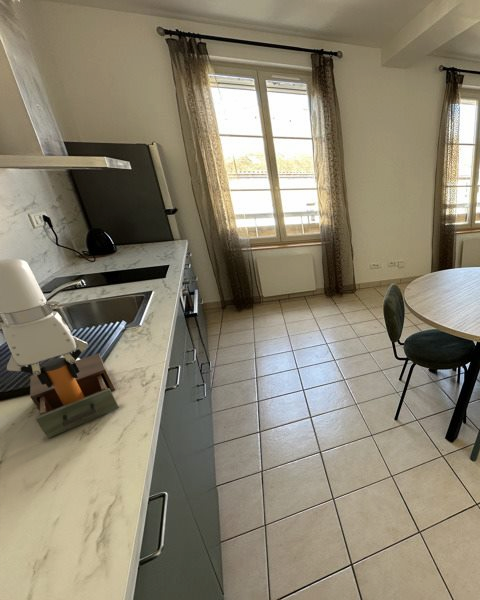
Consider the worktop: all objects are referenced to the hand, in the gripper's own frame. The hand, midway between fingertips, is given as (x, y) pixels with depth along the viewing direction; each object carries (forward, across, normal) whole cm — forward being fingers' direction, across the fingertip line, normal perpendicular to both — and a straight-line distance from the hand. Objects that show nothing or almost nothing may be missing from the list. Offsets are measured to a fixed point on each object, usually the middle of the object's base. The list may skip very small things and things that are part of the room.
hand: (62, 379), depth 81 cm
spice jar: (+7, 0, 0) cm, 7 cm away
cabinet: (+11, -1, -11) cm, 16 cm away
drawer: (+10, -1, +3) cm, 10 cm away
